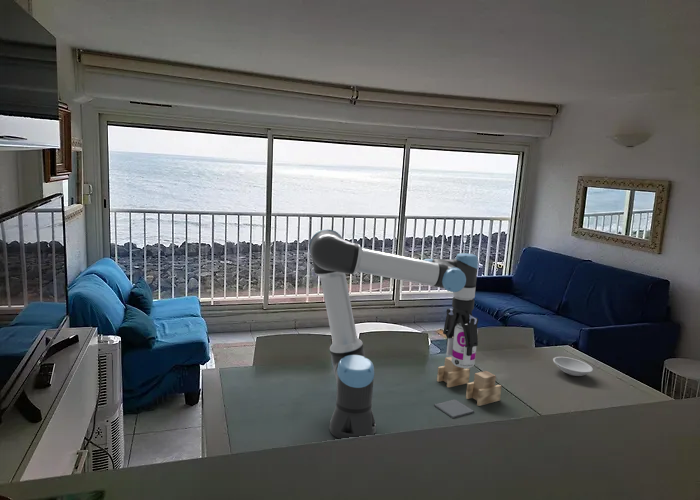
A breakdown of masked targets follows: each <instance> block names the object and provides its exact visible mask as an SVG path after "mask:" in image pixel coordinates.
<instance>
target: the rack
mask: <svg viewBox="0 0 700 500" xmlns="http://www.w3.org/2000/svg"><path fill="white" fill-rule="evenodd" d="M451 360H452V356H446V357H445V358H444V365H442V366H441V365H440V366H438V367H437V373H436V374H437V376H436V377H437V378H436V382H438V383H439V382H445V383H446V387H447V388H453V387H457V386H462V385H465V384H466V393H465V399H466V400H469V399H473V400H475V401H476V402H477V403H476V406H477V407H478V406H481V407H482V406H484V405H488V404H491V403H494V402H495V403H496V402H498V401H501V396H502V395H501V392H502V385H501V384H496V380H497V379H496V378H497V376H496V375H495V374H494V373H491V372H490V371H487V370H482V371H479V372H474V377H473V378H474V379H473V381H471V382H470V373H471V369H470V368H461V367H457V366H455V365H454V364H453V363H452V361H451Z"/></svg>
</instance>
